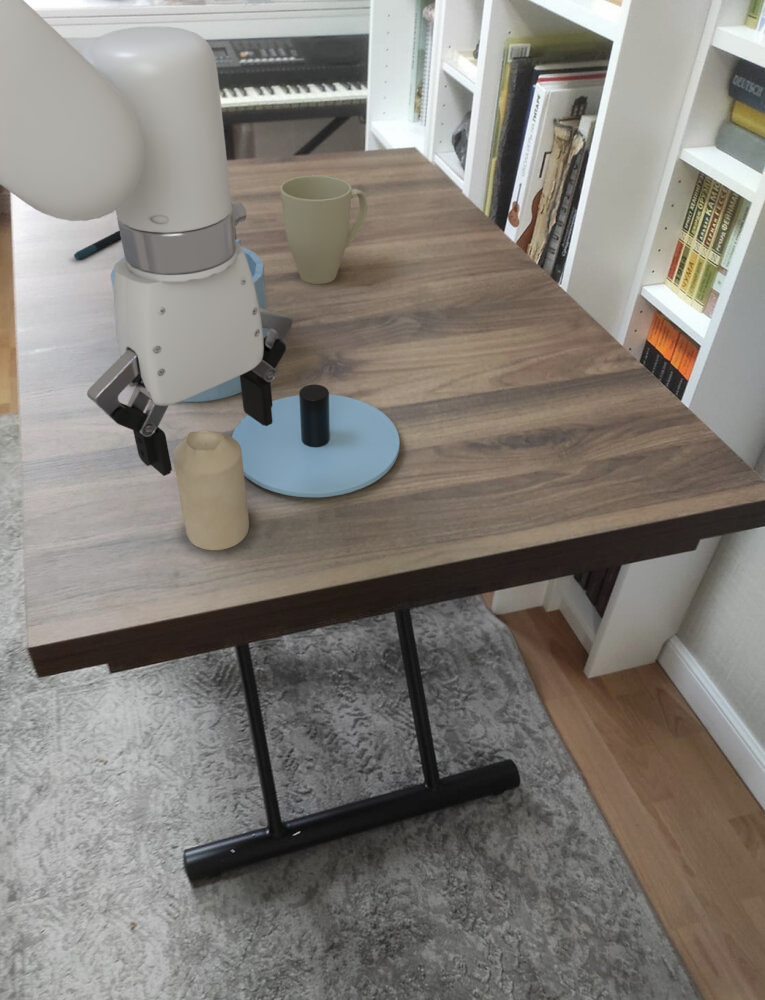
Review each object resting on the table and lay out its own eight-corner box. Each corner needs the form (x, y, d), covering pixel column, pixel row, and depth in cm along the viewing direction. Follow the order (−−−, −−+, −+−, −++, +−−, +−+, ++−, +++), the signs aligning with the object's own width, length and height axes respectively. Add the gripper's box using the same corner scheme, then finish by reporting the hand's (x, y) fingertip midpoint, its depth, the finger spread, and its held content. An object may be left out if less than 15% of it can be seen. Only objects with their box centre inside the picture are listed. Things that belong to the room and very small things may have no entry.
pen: (153, 223, 126) (152, 216, 125) (80, 261, 115) (78, 253, 114) (147, 222, 126) (146, 214, 125) (74, 259, 115) (72, 251, 114)
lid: (202, 481, 79) (193, 423, 74) (270, 391, 91) (266, 336, 87) (370, 518, 75) (371, 459, 71) (417, 419, 87) (421, 363, 83)
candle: (255, 512, 75) (246, 420, 69) (241, 554, 71) (230, 460, 65) (195, 507, 76) (181, 415, 69) (178, 548, 72) (161, 455, 65)
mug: (349, 295, 109) (349, 204, 101) (276, 286, 110) (271, 196, 103) (367, 261, 117) (368, 174, 109) (299, 253, 119) (295, 167, 111)
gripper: (249, 191, 63) (267, 384, 74) (32, 256, 54) (89, 464, 65) (313, 221, 59) (321, 420, 70) (89, 296, 50) (140, 511, 61)
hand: (210, 441), depth 68 cm, fingers open, 9 cm apart
